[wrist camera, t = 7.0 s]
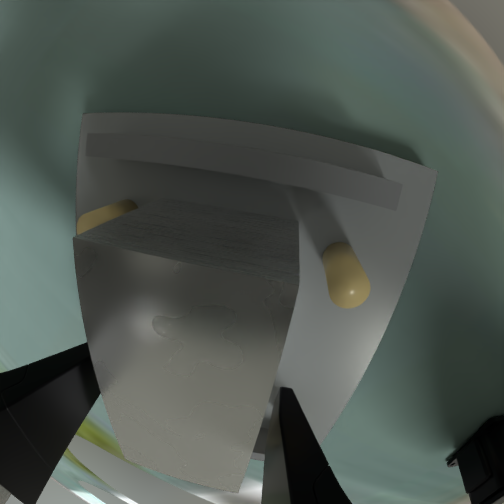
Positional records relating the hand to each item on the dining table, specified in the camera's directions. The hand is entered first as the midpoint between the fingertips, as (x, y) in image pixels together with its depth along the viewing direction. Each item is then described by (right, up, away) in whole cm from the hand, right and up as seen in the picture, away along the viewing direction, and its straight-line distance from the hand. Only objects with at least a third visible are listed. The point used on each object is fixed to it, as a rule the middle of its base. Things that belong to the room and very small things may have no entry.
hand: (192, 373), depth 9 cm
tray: (+1, +1, +4) cm, 4 cm away
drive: (0, +1, +3) cm, 3 cm away
